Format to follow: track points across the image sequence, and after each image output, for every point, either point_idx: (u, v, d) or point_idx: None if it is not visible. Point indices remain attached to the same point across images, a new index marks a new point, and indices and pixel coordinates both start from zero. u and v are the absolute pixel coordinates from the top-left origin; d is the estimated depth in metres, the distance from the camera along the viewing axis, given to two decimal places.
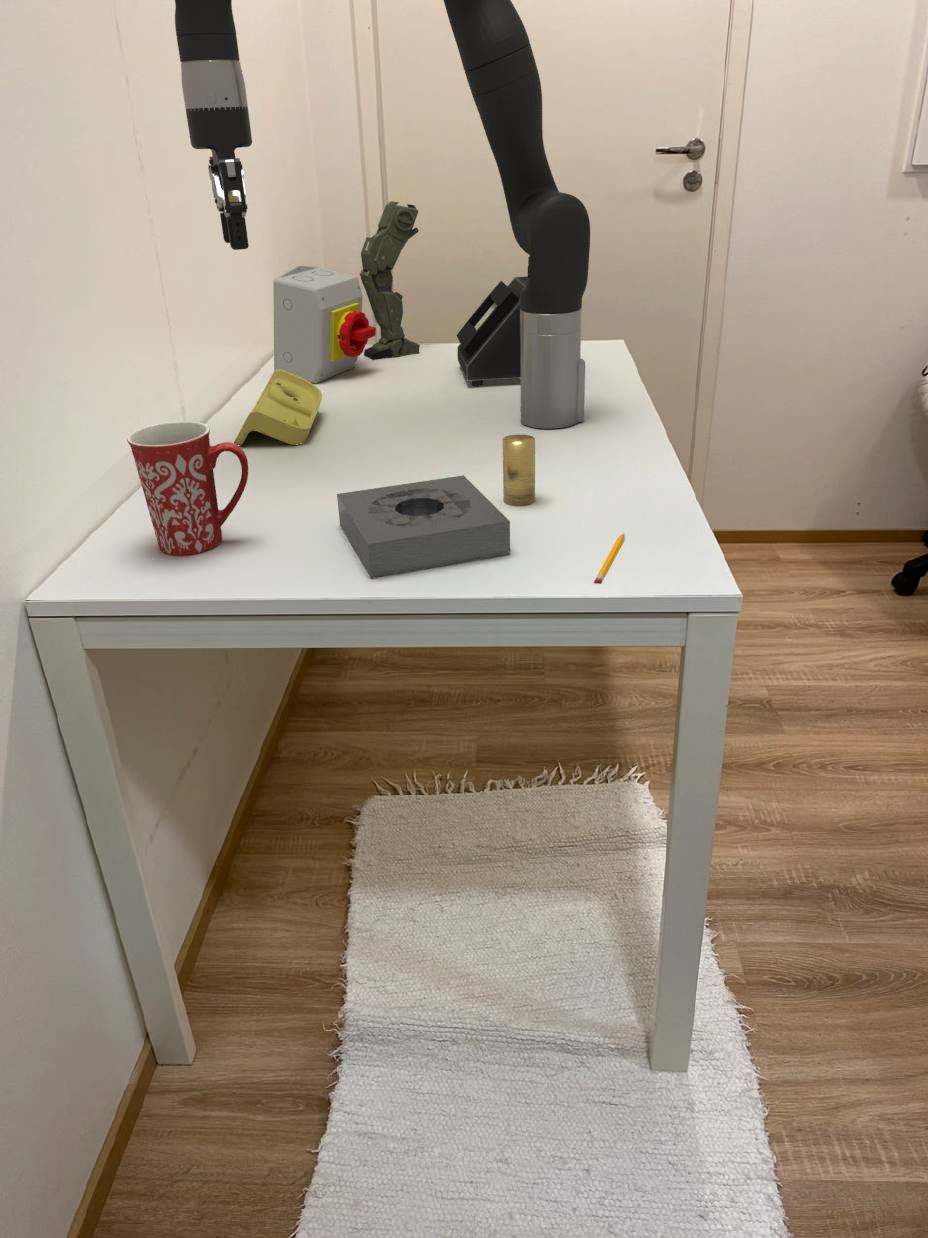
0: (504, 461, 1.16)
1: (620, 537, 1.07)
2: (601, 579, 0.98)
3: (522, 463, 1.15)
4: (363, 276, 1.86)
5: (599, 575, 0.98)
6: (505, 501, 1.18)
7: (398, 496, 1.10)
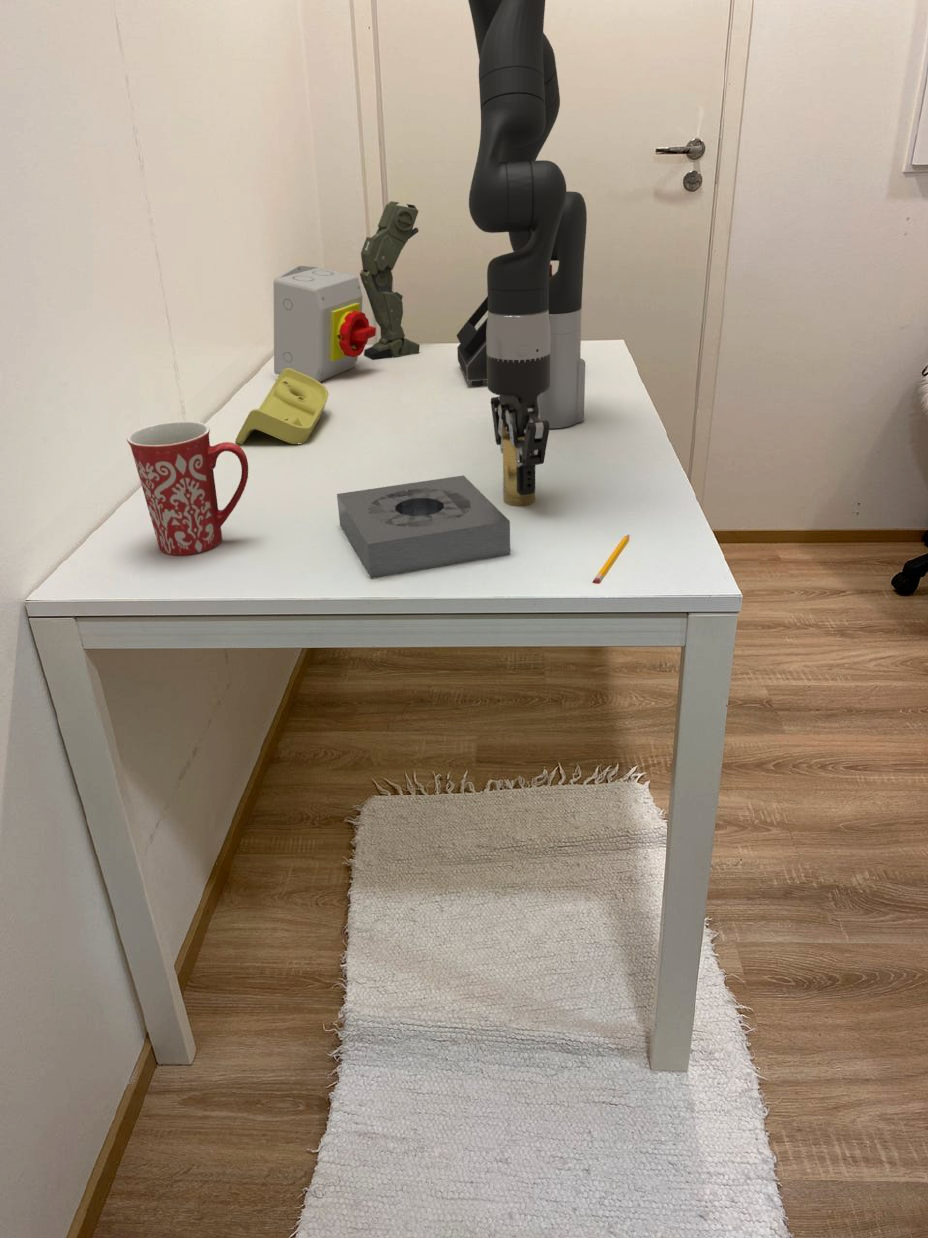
0: (504, 461, 1.16)
1: (624, 538, 1.06)
2: (600, 579, 0.98)
3: None
4: (363, 276, 1.86)
5: (598, 575, 0.98)
6: (505, 501, 1.18)
7: (398, 496, 1.10)
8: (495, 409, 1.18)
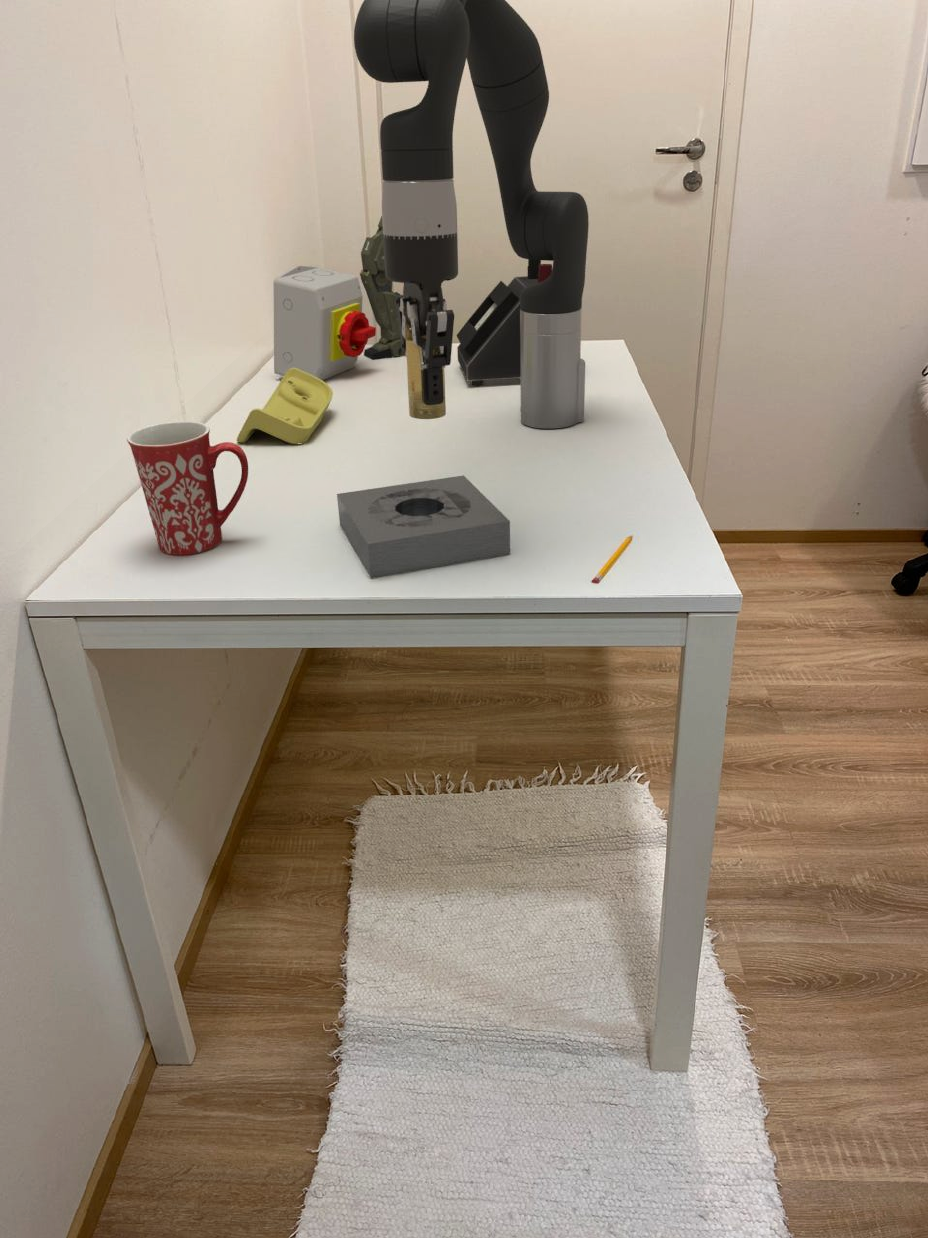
0: (408, 365, 1.00)
1: (627, 538, 1.06)
2: (599, 579, 0.98)
3: None
4: (363, 276, 1.86)
5: (597, 575, 0.98)
6: (410, 414, 1.02)
7: (398, 496, 1.10)
8: (399, 308, 1.02)
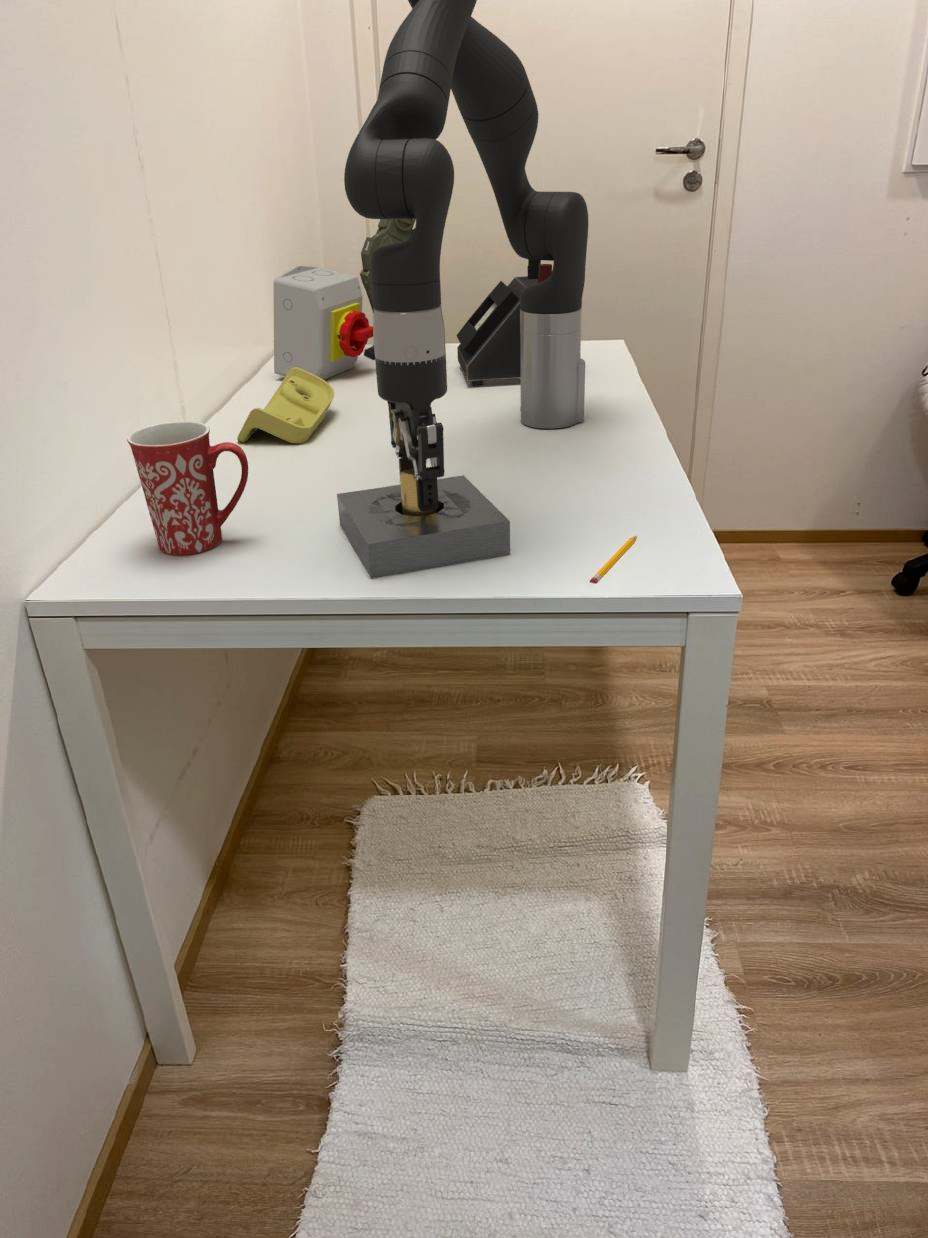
0: (402, 497, 1.06)
1: (630, 539, 1.06)
2: (597, 578, 0.98)
3: None
4: (363, 276, 1.86)
5: (596, 575, 0.98)
6: None
7: (398, 496, 1.10)
8: (391, 411, 1.07)
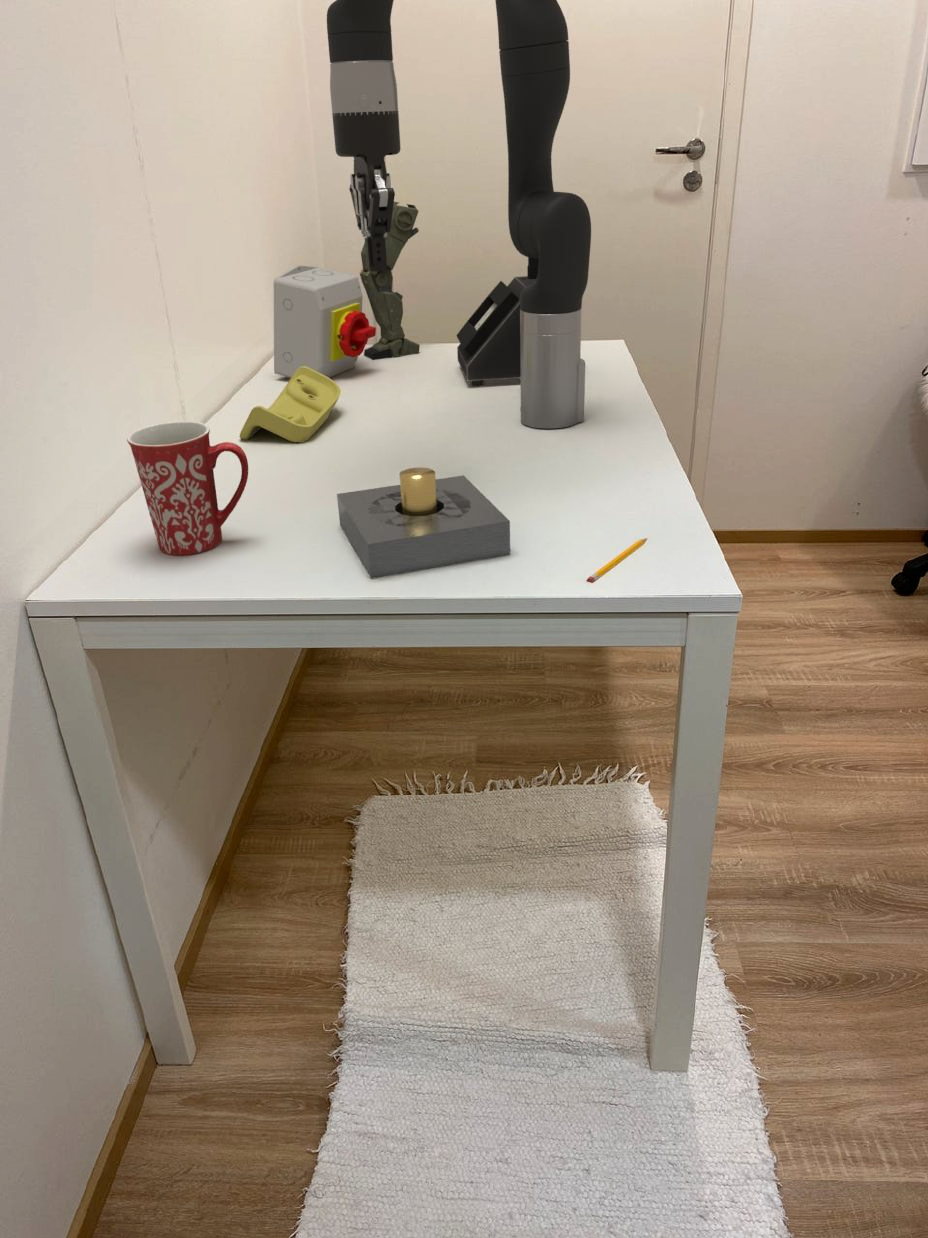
0: (402, 497, 1.06)
1: (639, 541, 1.06)
2: (594, 578, 0.98)
3: (420, 499, 1.05)
4: (363, 276, 1.86)
5: (594, 574, 0.98)
6: None
7: (398, 496, 1.10)
8: (353, 192, 1.14)
